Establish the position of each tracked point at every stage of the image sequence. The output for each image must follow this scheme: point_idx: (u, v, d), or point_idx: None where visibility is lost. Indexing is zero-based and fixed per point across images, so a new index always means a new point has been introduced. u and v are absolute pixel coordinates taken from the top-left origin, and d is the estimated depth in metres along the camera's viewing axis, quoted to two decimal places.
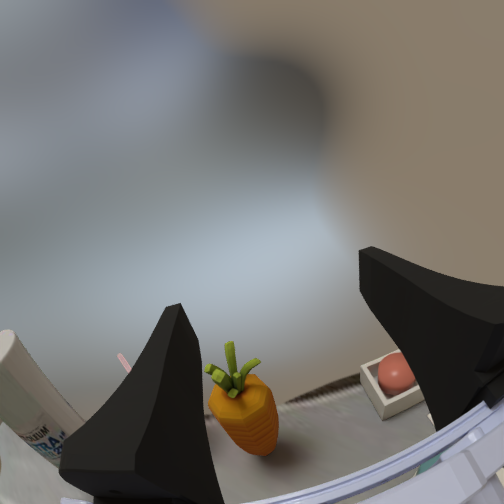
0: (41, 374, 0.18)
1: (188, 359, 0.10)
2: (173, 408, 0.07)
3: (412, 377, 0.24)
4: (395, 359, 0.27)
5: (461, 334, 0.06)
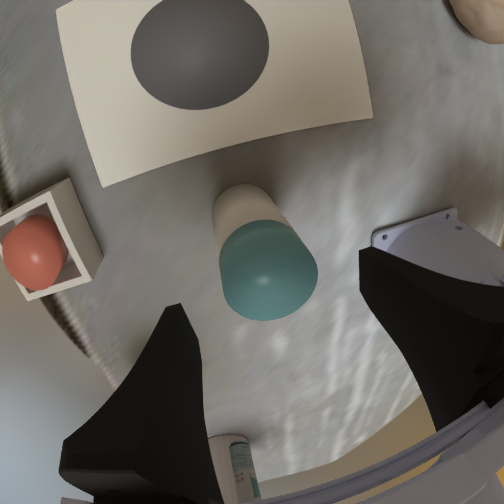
0: None
1: (188, 359, 0.10)
2: (173, 408, 0.07)
3: (45, 241, 0.13)
4: (14, 261, 0.14)
5: (461, 334, 0.06)
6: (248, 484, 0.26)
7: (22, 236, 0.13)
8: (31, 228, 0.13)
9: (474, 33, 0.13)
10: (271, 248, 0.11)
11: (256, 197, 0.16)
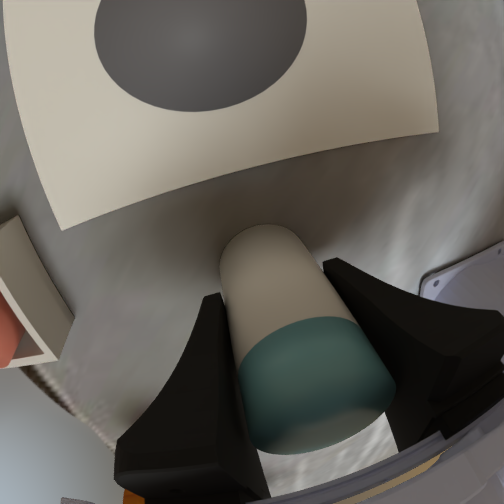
0: None
1: (231, 348, 0.10)
2: (229, 397, 0.07)
3: None
4: None
5: (413, 360, 0.06)
6: None
7: None
8: None
9: None
10: (337, 387, 0.06)
11: (290, 254, 0.10)
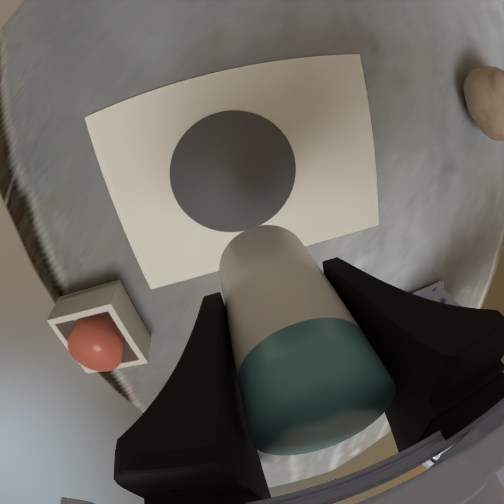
0: None
1: (231, 348, 0.10)
2: (229, 397, 0.07)
3: (111, 342, 0.18)
4: (80, 352, 0.18)
5: (413, 360, 0.06)
6: None
7: (88, 337, 0.18)
8: (97, 332, 0.18)
9: (482, 131, 0.17)
10: (337, 389, 0.06)
11: (290, 255, 0.10)
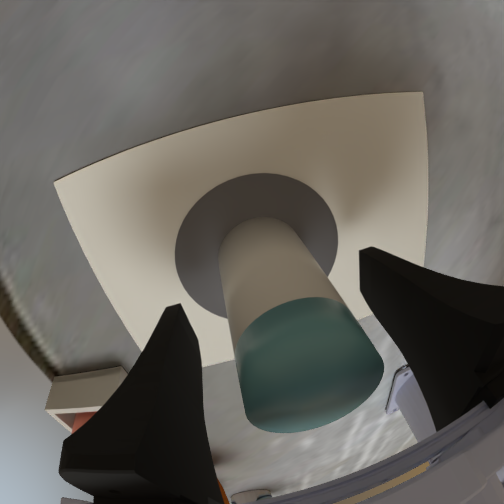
0: None
1: (188, 359, 0.10)
2: (173, 408, 0.07)
3: None
4: None
5: (461, 334, 0.06)
6: None
7: None
8: None
9: None
10: (326, 360, 0.07)
11: (284, 244, 0.11)
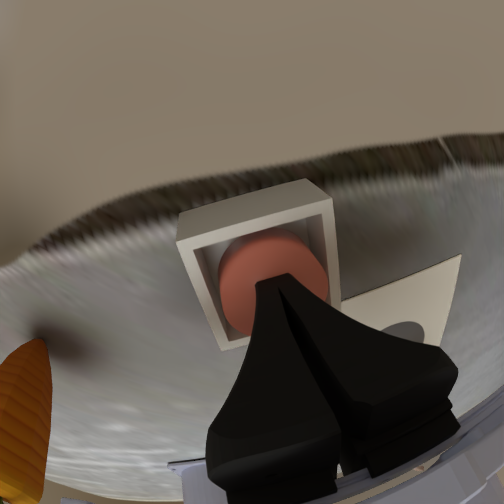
0: None
1: None
2: None
3: None
4: (278, 273, 0.11)
5: (335, 394, 0.06)
6: None
7: None
8: None
9: None
10: None
11: None
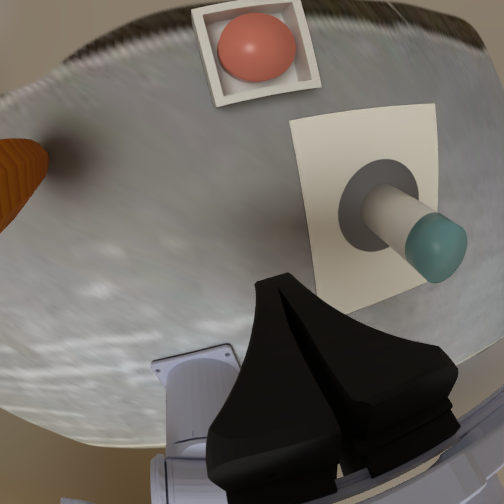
0: None
1: None
2: None
3: (276, 75, 0.14)
4: (258, 27, 0.13)
5: (335, 394, 0.06)
6: None
7: (286, 49, 0.13)
8: (291, 62, 0.14)
9: None
10: (462, 252, 0.16)
11: None
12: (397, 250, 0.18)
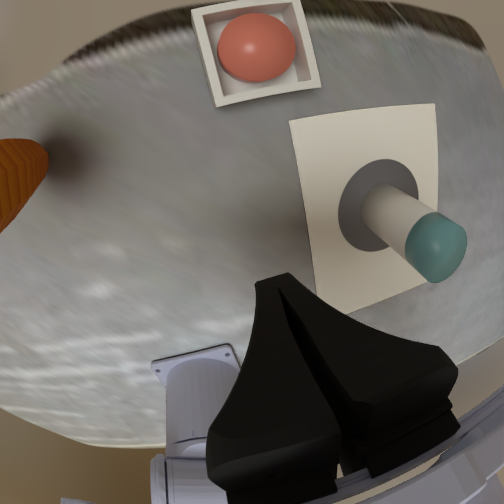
0: None
1: None
2: None
3: (276, 75, 0.14)
4: (258, 27, 0.13)
5: (335, 394, 0.06)
6: None
7: (285, 49, 0.13)
8: (291, 62, 0.14)
9: None
10: (462, 251, 0.16)
11: None
12: (397, 250, 0.18)
